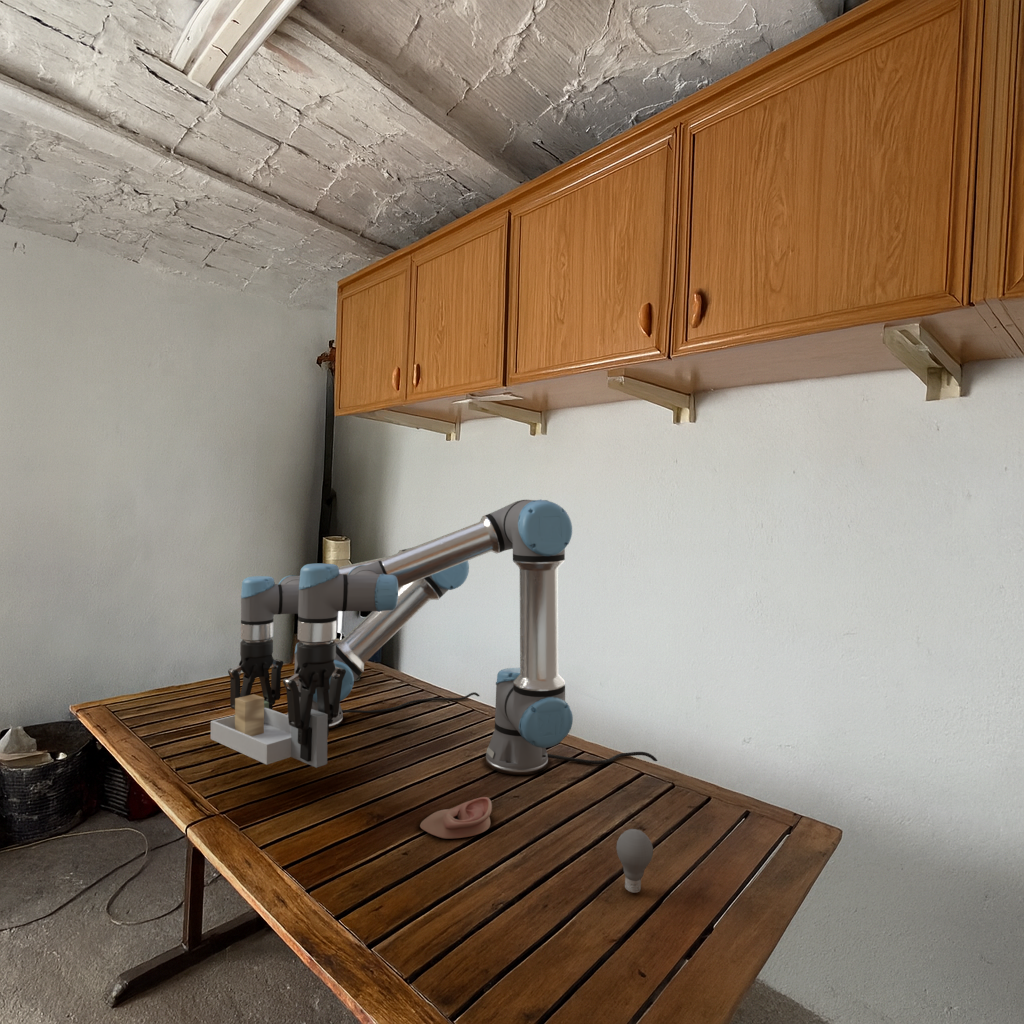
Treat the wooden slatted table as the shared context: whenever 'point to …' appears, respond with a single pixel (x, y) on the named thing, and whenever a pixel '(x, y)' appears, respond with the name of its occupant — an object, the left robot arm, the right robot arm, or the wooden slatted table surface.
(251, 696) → the birch block
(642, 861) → the light bulb
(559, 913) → the wooden slatted table surface
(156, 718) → the wooden slatted table surface
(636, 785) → the wooden slatted table surface
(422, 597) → the left robot arm
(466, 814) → the anatomical model
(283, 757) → the tray
